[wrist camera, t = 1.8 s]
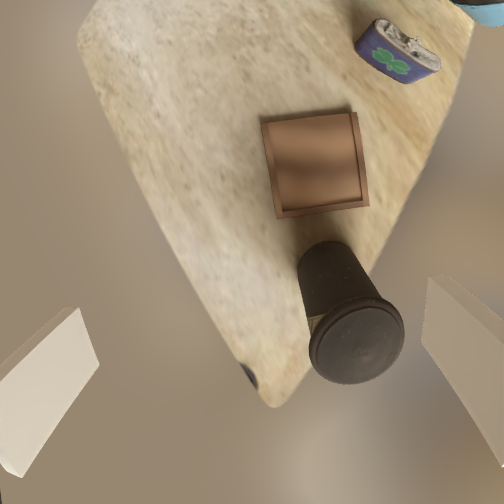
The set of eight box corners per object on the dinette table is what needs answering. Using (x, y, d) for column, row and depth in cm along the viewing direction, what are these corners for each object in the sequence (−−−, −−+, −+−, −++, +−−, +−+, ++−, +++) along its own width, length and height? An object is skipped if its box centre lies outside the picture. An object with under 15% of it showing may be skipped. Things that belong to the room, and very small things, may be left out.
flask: (415, 75, 35) (452, 58, 25) (407, 90, 36) (444, 76, 25) (358, 37, 34) (382, 7, 24) (349, 52, 35) (371, 25, 25)
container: (282, 276, 45) (288, 365, 25) (323, 225, 42) (362, 285, 23) (329, 309, 46) (359, 404, 27) (370, 261, 43) (429, 337, 24)
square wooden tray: (261, 124, 39) (260, 123, 37) (353, 113, 37) (356, 112, 36) (276, 216, 42) (276, 218, 40) (365, 203, 41) (369, 205, 39)
